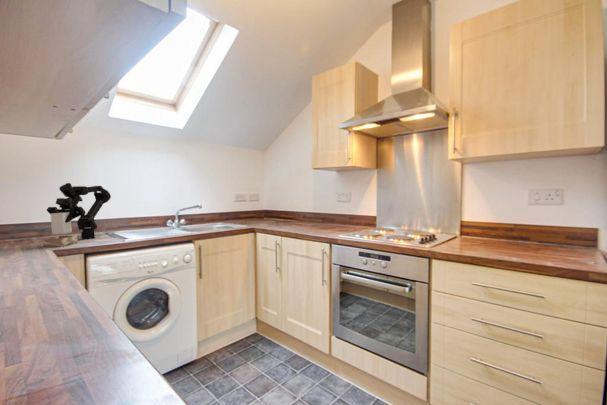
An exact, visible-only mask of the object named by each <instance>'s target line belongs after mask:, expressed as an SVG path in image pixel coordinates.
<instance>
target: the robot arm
mask: <svg viewBox="0 0 607 405" xmlns="http://www.w3.org/2000/svg"><path fill="white" fill-rule="evenodd" d="M58 189H59V191H60V192H61V194H63V195H64V197H63V198H62V197H59V198H58V197H57V198H56V201H55V205H58V207H59V208H58V207H56V206H50V207H49V206H48V207H47V209H46V212H47V213H48V214H49V215H50V216H51V214H52V213H61V212H69V215H68V217H67V219H66V221H65V222H66V223H67V222H69V221H71V222H72V221H73V220H74V219H76V218H78V220H77V222H76V223H77V228H78V230H79V231H80V238H81V239H82V240H91V239H96V236H95V230H97V229H98V224H97V223H96V220H95V218H96V216H97V214H98V213H99V211H100V210H101V209H102V207H103V205H104V204H106V203H108V202H109V201H110V200H111V197H112V196H111V193H110V192H109V191H108V190H107V189H105V188H104V187H103V186H102V185H92V186H85V185H82V186H81V185H80V186H79V185H76V186H74V185H72V184H71V183H69V182H67V183H65V184H63V185H61V186H59V187H58ZM90 193H93V196H94V199H95V201H94V202H93V204H92V205H91V207H90V208H89V209H88V211H87V212H86V210H85V209H84V208H83V207H82V206H78V204H79V203H80V202H83V198H82V197H81V196H86V195H88V194H90ZM65 197H66V198H65Z"/></svg>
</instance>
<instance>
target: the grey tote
mask: <svg viewBox="0 0 607 405" xmlns="http://www.w3.org/2000/svg"><path fill="white" fill-rule="evenodd" d="M68 215H69V212H61V213H52V214H51V215H50V221H51V222H50V226H51V235H66V234H72V231H73V228H72V220H71V221H69V222H67V223H66V222H65V221H66V219H67V217H68Z"/></svg>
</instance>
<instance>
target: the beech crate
mask: <svg viewBox="0 0 607 405" xmlns="http://www.w3.org/2000/svg"><path fill="white" fill-rule="evenodd" d="M78 241H79V240H78V235H56V236H51V237H47V238H42V245H43V247H44V248H48V247H49V248H50V246H63V247H67V246H71V245H75V244H78ZM66 245H67V246H66Z"/></svg>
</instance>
